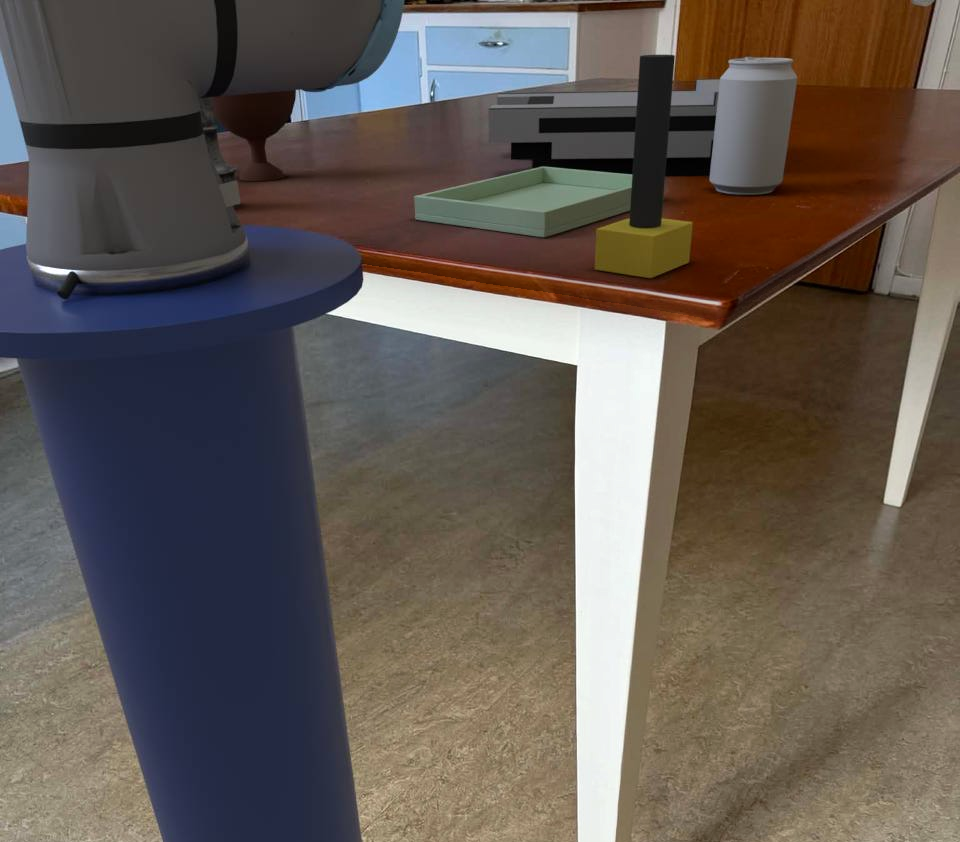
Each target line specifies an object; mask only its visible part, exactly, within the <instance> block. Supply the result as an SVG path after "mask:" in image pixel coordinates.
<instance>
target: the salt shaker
mask: <svg viewBox="0 0 960 842" xmlns="http://www.w3.org/2000/svg"><path fill="white" fill-rule="evenodd" d="M199 104H200V113H201V119H202V124H203V130H204V136H205V142H206V146H207V149H208V152H209V155H210V157H211V159H212V161H213V163H214V166H215V168H216V170H217V172H218V174H219V176H220V178H221V180H222V183H223V184H224V183H228V182H232V181H236V174H235V173H236V172H237V171H238V168H237V167H236V166H234V165H230V164H229V163H227V162H226V161H225V160H224V157H223V154H222V152H221V149H220V143H219V138H218V129H220V125H218V124H216V123H215V118H214V116H213V110H212V103H211V97H207V98H199ZM240 204H241V203H240ZM240 204H237V205H233V207H234V209H235V210H237V209H239V208H240V207H241V205H240Z"/></svg>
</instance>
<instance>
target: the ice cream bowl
mask: <svg viewBox="0 0 960 842" xmlns="http://www.w3.org/2000/svg"><path fill="white" fill-rule="evenodd" d="M296 96H297V90H290V91H278V92H266V93H254V94H242V95H229V96H218V97H211V103H212V110H213V116H214V120H215V121H216V122H217V123H218V124H220V125H221V127H223V128H224V129H225V130H226V131H228V132H230V133H231V134H232V135H234V136H235V137H239V138H241V139H243V140H246V141H247V144H248V145H249V147H250V153H251V160H252V161H251V163H250V164H248V165H247V166H246V167H245V168H244V169H243V170H242V171H240V173H239V178H238V179H239V181H245V182H267V181H268V182H269V181H276V180H280V179H284V178H285V174H284V172H283V170H282V169H280V168H279V167H277V166H276V165H274V164H272V163H271V162H269V161H268V159H267V153H266V143H267V139H269V138H271V137H272V136H275V134H277V133H278V132H279V131H280V130H281V129H283V127H284V126H285V125H286V123H287V122H288V121H289V119H290V118H291V116H292V114H293V111H294V107H295V103H296V99H297V97H296Z"/></svg>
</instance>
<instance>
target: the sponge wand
mask: <svg viewBox="0 0 960 842" xmlns="http://www.w3.org/2000/svg"><path fill="white" fill-rule="evenodd" d="M675 59H676V56H675V54H642V55H640V56H639V63H638V64H639V65H638V82H637V91H638V95H637V111H636V127H635V142H634V158H633V174H632V190H631V205H630V211H629V217H628V218H626V219H623V220H622V219H621V220H618V221H616V222H613V223H610V224H607V225H604V226H601V227H598V228H596V232H595V254H594V270H595V271H598V272H599V271H600V272H607V273H612V274H613V273H614V274H620V275H624V276H625V275H626V276H631V277H639V278H645V279H653V278H655V277H657V276H660V275H662V274H665V273H667V272H670V271H672V270H674V269H677V268H679V267H682V266H684V265H687V264H689V263H690V257H691V245H692V235H693V226H694V225H693V224H694V222H693V221H687V220H679V219H671V218H664V217H663V209H664V208H663V207H664V200H663V196H664V197H665V189H664V183H665V184H666V175H665V171H666V159H667V147H668V134H669V122H670V110H671V97H672V90H673V85H674V83H673V82H674V72H675Z"/></svg>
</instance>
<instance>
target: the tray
mask: <svg viewBox="0 0 960 842" xmlns="http://www.w3.org/2000/svg"><path fill="white" fill-rule="evenodd" d="M665 187H666V182H665V183H664V190H666V189H665ZM631 190H632V175H631V174H620V173H609V172H598V171H587V170H576V169H565V168H554V167H538V168H534V169H532V168H529V169H526V170H521V171H517V172H513V173H508V174H504V175H500V176H495V177H492V178H487V179H483V180H477V181H473V182H470V183H465V184H461V185H457V186H452V187H447V188H444V189H438V190H436V191H435V190H434V191H431V192H427V193H421V194H418V195H414V196H413V201H414V214H415V215H414V216H415V218H414V219H415V220H416V221H423V222H430V223H436V224H442V225H443V224H444V225H451V226H458V227H464V228H473V229H480V230H487V231H494V232H502V233H508V234H515V235H523V236H530V237H537V238H545V239H546V238H548V237H551V236H554V235H557V234H561V233H563V232H566V231H570V230H572V229H573V230H574V229H576V228H579V227H583V226H586V225H589V224H592V223H595V222H599V221H601V220H605V219H608V218H611V217H615V216H618V215H620V214H624V213H627V212H630V205H631ZM664 200H665V195H664V196H663V201H664Z"/></svg>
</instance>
